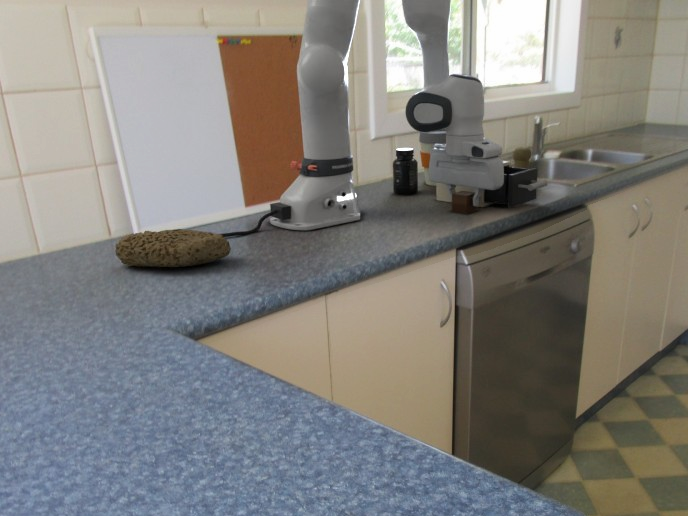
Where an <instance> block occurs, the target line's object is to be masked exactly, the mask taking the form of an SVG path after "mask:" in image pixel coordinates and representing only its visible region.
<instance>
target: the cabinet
mask: <svg viewBox="0 0 688 516" xmlns="http://www.w3.org/2000/svg"><path fill="white" fill-rule="evenodd" d="M502 161H503V166H507V167H512V161H510V160H502ZM436 185H437V186H436V201H440V202H446V203H451V202H450V195H449V192H448V190H447V188H446V184H443V183H436ZM455 191H456V192H460V191H468V192H474V188H472V187H465V186H458V185H456V187H455ZM490 205H495V203H492V202H485V201H484V189H483V193H482V194H481V196H480V198H479V205H478V206H477V208H478V207H479V208H484V207H488V206H490Z"/></svg>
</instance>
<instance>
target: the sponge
mask: <svg viewBox="0 0 688 516" xmlns="http://www.w3.org/2000/svg"><path fill="white" fill-rule="evenodd" d="M221 234H222V233H215V232H211V231H203V230H202V231H201V230H195V229H183V228H176V229H164V230H160V231H152V230H144V232H142V231H140V232H136V233H131V234H126V235H125V236H123V237H121V238H120V239H119V240H118V242H117V243H115V245H114V246H115V250H114V253H115V256H116V257H117V259H119V260H120V262H121V264H122V265H127V266H134V267H144V268H145V267H153V268H154V267H158V268H167V267H168V268H184V267H192V266H193V267H194V266H197V265H198V266H199V265H205V264H208V263H212V262H215V261H218V260H220V259H223V258H226V257H227V256H229V255H230V253H231V250H232V248H231V243H230V241H229V240H228V239H227V238H226V237H224V236H222V235H221Z"/></svg>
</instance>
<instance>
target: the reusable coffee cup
mask: <svg viewBox="0 0 688 516" xmlns="http://www.w3.org/2000/svg"><path fill="white" fill-rule="evenodd" d="M418 142H419V143H420V151H419V155H420V162H421V167H422V168H423V172H424V180H425V181H424V182H425V184H426V185H429V186H435V187H437V185H436V183H435V182H431V181H430V179H429V177H428V172H429V162H430V150H431V148H432V147H433V146H435V144H440V145H446V130H445V129H440V130H436V131H433V132H429V133H424V132H419V137H418ZM434 148H435V147H434Z"/></svg>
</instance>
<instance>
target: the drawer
mask: <svg viewBox="0 0 688 516" xmlns="http://www.w3.org/2000/svg"><path fill="white" fill-rule="evenodd" d="M538 171H539V170H538V167H532V168H530V169H528V170H527V169H526V168H517V167H513V166H511V167H507V166H504V184H503V185H502V187H501V188H500V189H497V190H487V189H484V201H485V202H492V203H494V204H498V205H507V208H515V207H517V206H520V205H524V204H526V203H529V202H532V201H535V200H537V193H538V191H537V190H538V189H541V188H545V187H547V186H548V183H549V182H548V181H547V180H546V179H543V180H538Z"/></svg>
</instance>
